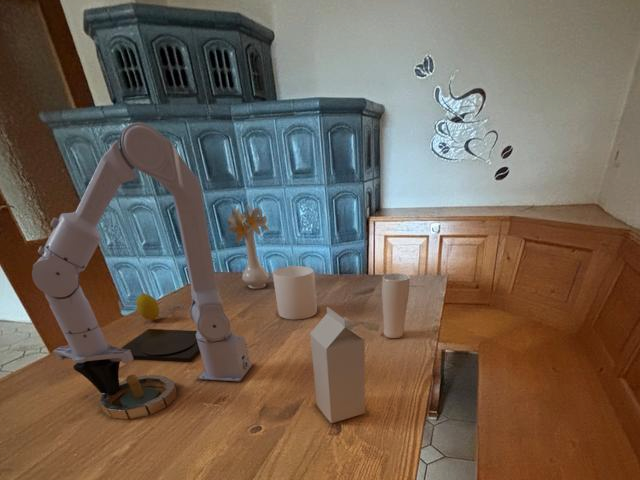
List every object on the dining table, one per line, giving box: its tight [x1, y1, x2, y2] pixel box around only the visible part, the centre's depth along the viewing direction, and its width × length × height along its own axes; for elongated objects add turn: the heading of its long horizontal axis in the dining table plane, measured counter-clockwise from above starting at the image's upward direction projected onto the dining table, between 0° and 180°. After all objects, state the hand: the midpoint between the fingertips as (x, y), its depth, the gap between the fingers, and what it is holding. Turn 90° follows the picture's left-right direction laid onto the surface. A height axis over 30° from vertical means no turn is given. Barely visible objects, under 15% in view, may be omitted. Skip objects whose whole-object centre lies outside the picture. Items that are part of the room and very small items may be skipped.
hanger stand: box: [119, 374, 160, 407], centre depth 76 cm, size 7×7×6 cm
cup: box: [272, 265, 318, 321], centre depth 113 cm, size 12×12×12 cm
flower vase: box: [226, 204, 270, 290], centre depth 130 cm, size 13×18×25 cm
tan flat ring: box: [98, 374, 177, 420], centre depth 77 cm, size 13×13×2 cm
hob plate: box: [120, 328, 201, 363], centre depth 98 cm, size 20×16×1 cm
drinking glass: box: [381, 272, 411, 339], centre depth 98 cm, size 7×7×15 cm
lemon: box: [135, 292, 160, 322], centre depth 110 cm, size 6×6×8 cm
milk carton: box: [309, 306, 366, 424], centre depth 68 cm, size 7×7×19 cm
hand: (111, 392), depth 78 cm, fingers closed on tan flat ring, 1 cm apart
